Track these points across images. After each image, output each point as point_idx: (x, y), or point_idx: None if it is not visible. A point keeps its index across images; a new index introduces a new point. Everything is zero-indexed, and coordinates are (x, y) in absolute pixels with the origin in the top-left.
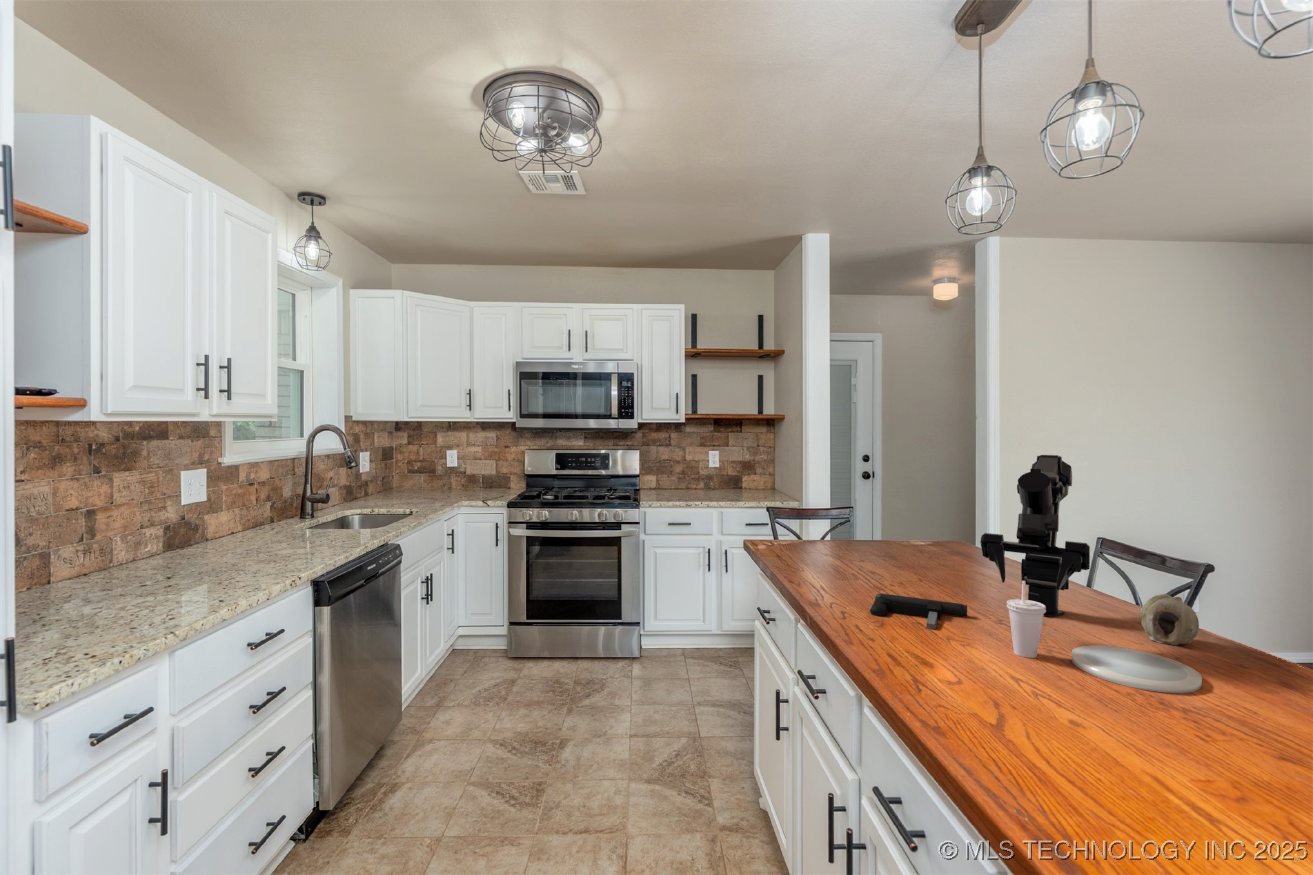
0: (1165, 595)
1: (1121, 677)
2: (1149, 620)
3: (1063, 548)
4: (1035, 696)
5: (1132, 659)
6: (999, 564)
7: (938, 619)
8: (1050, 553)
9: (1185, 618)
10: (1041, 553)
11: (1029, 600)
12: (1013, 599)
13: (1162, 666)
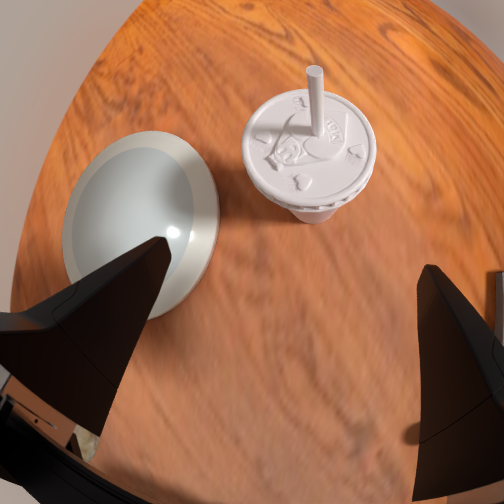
0: None
1: (158, 132)
2: (73, 431)
3: (6, 465)
4: (287, 31)
5: (118, 247)
6: (488, 331)
7: None
8: (82, 468)
9: None
10: (146, 499)
11: (297, 199)
12: (358, 178)
13: (89, 235)
